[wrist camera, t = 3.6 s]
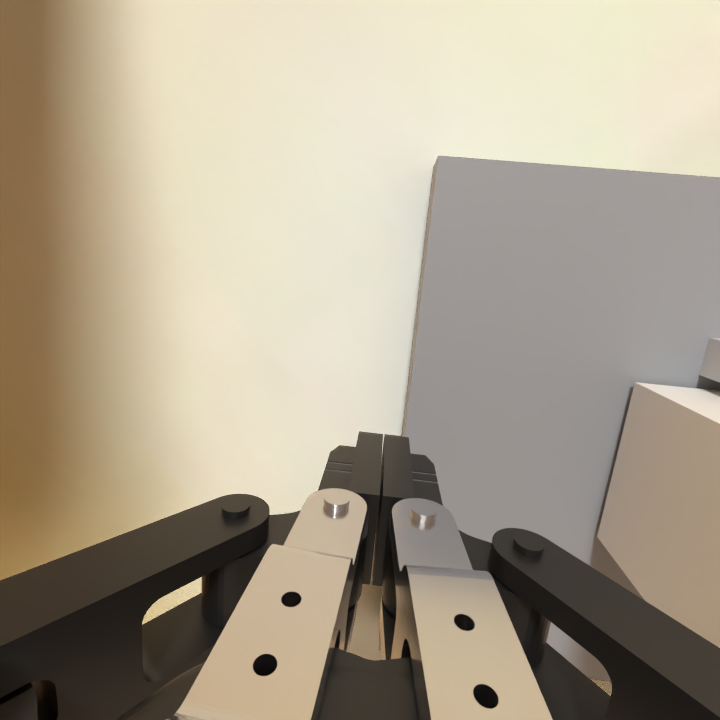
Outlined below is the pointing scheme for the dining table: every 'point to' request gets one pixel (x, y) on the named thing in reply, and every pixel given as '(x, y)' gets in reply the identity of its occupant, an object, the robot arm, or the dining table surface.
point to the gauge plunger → (669, 503)
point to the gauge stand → (554, 339)
